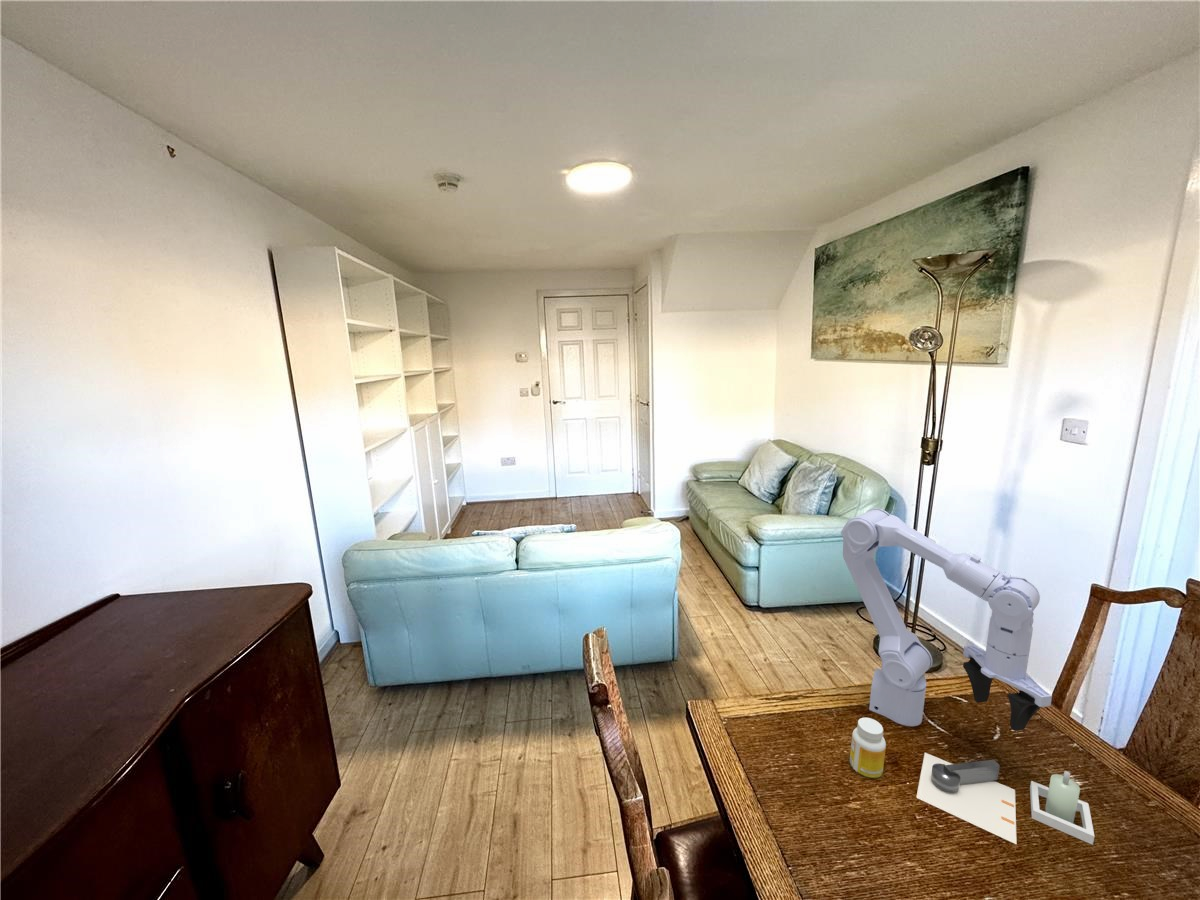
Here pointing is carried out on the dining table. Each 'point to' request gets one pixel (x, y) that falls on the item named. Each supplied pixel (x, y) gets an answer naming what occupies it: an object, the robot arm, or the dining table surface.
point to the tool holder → (1058, 823)
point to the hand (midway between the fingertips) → (998, 714)
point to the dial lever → (963, 774)
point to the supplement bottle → (868, 748)
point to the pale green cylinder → (1062, 797)
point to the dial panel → (972, 801)
